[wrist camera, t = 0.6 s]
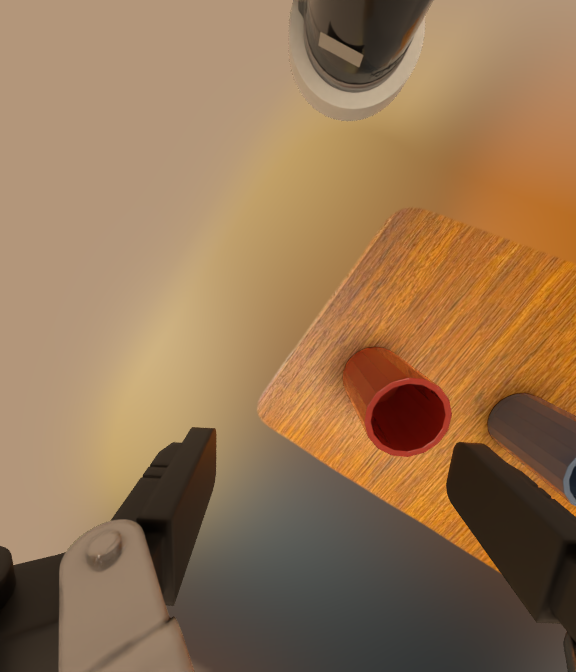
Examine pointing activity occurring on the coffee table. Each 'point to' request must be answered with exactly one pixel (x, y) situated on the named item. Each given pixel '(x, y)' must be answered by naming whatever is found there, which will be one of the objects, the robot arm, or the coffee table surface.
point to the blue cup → (538, 439)
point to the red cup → (396, 402)
